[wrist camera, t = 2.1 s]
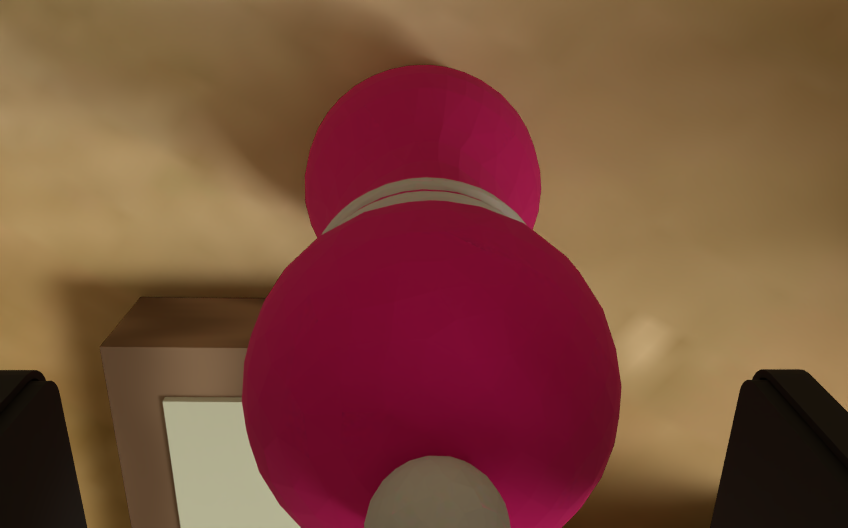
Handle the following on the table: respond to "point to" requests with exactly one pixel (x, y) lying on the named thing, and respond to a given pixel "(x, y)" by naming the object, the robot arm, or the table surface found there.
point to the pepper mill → (429, 326)
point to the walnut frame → (186, 415)
